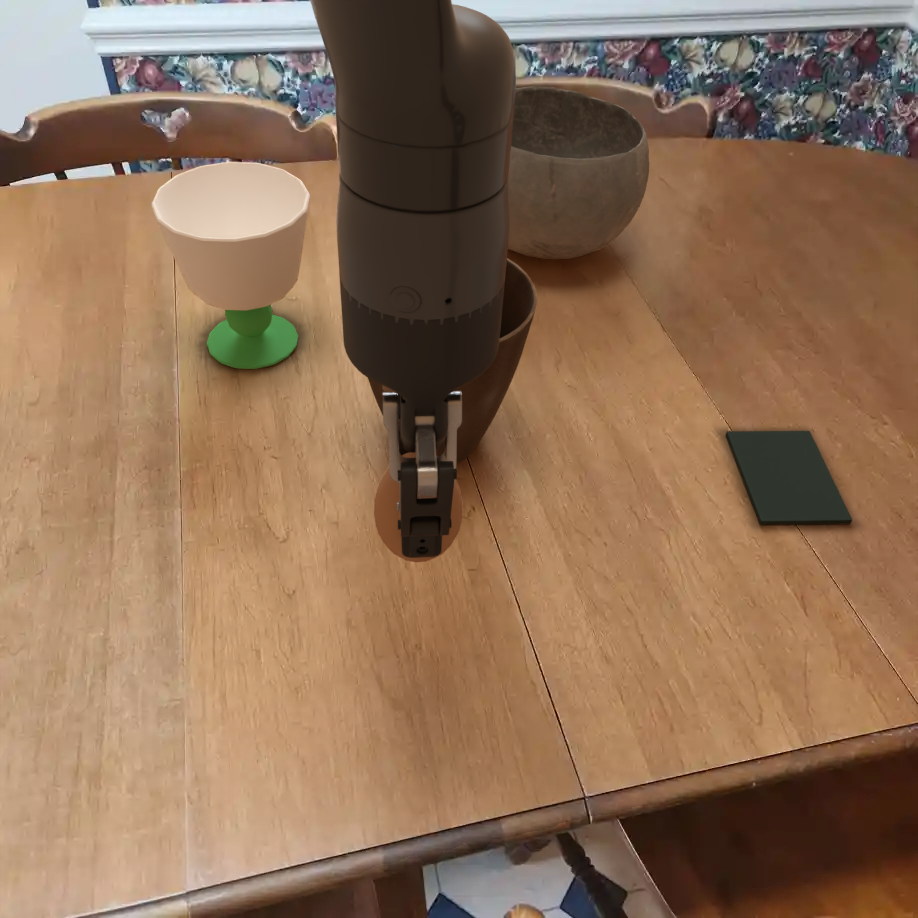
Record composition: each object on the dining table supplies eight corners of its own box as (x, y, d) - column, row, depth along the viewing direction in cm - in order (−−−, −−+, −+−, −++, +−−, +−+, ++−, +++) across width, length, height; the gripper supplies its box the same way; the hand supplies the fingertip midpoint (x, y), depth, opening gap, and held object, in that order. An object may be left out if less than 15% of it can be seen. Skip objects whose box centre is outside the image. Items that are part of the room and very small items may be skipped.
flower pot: (347, 390, 85) (338, 244, 73) (499, 377, 87) (513, 234, 76) (364, 506, 75) (357, 358, 63) (535, 487, 77) (558, 342, 66)
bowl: (640, 296, 98) (669, 170, 87) (455, 286, 97) (462, 158, 87) (620, 202, 112) (644, 83, 102) (459, 193, 112) (466, 73, 101)
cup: (328, 378, 86) (317, 234, 75) (182, 392, 83) (148, 246, 72) (315, 295, 95) (303, 156, 84) (183, 306, 93) (153, 165, 81)
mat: (850, 523, 76) (852, 520, 75) (759, 525, 75) (761, 521, 75) (808, 434, 83) (809, 430, 83) (725, 434, 83) (726, 431, 82)
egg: (417, 598, 52) (419, 508, 46) (357, 549, 54) (352, 458, 48) (477, 550, 54) (485, 459, 49) (417, 505, 57) (419, 414, 51)
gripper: (525, 364, 35) (495, 612, 47) (489, 185, 45) (472, 428, 57) (335, 367, 35) (353, 618, 47) (341, 185, 45) (355, 430, 57)
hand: (418, 512), depth 52 cm, fingers closed on egg, 5 cm apart
